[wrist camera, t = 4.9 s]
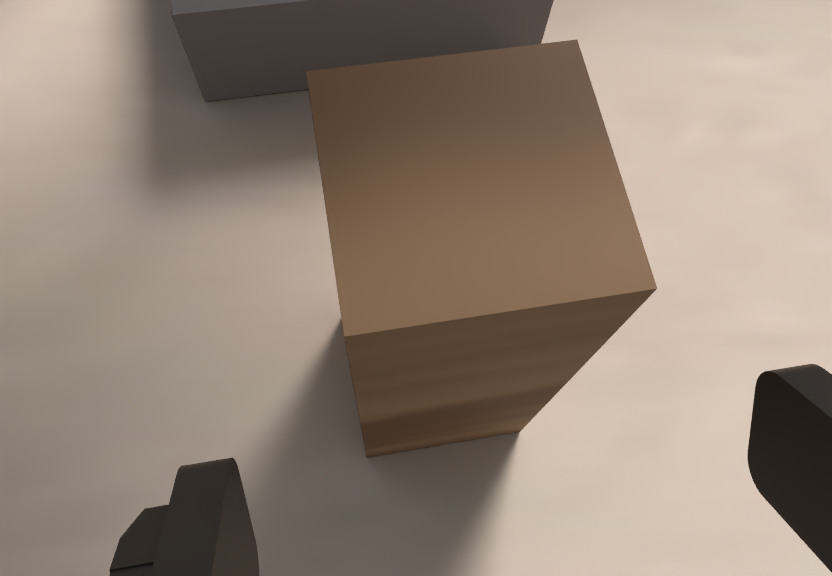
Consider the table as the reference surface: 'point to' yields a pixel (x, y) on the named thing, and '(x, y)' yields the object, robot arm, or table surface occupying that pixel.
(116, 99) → the table surface
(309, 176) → the table surface
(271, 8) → the socket
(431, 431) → the walnut peg
